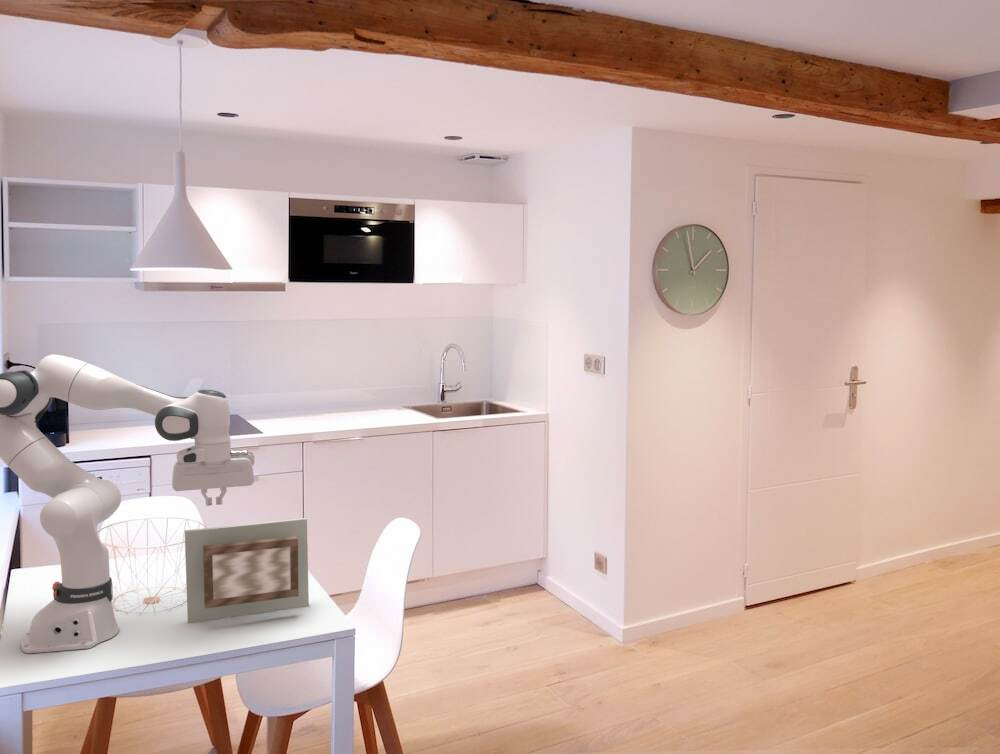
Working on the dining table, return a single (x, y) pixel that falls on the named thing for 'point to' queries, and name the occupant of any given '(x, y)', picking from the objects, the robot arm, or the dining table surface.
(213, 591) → the walnut frame
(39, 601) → the dining table surface
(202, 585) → the sage wall panel
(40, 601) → the dining table surface
